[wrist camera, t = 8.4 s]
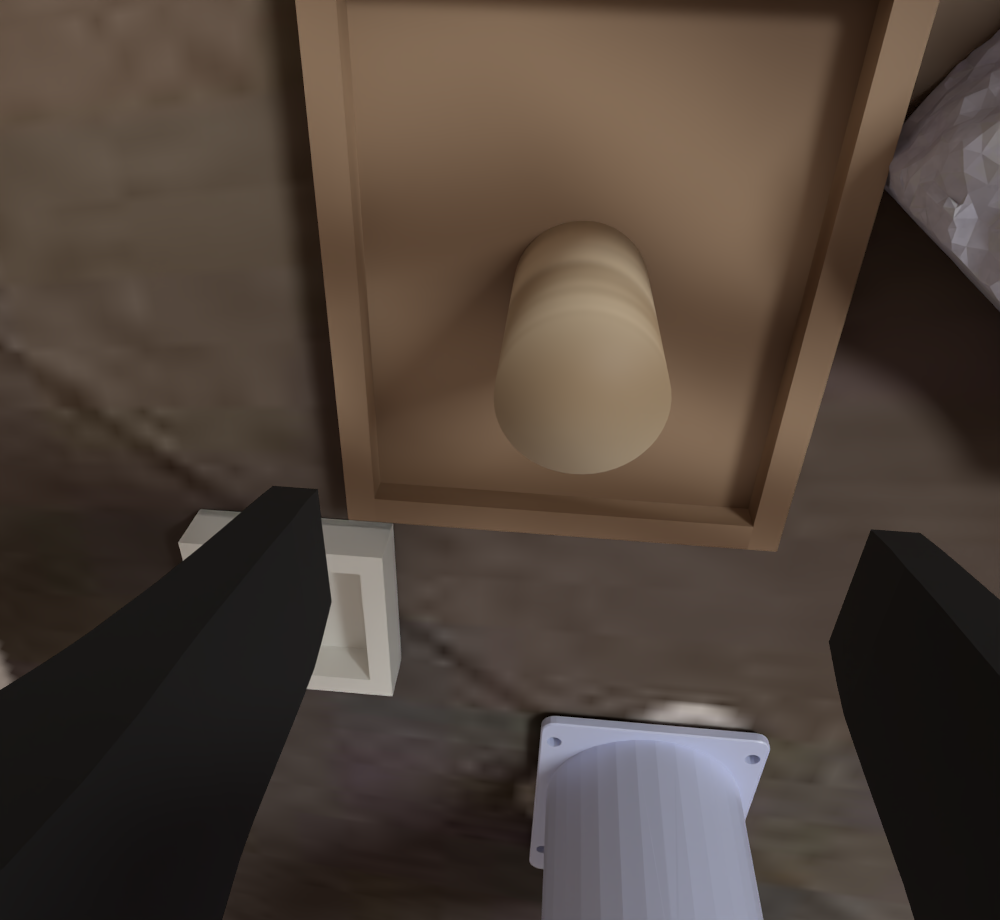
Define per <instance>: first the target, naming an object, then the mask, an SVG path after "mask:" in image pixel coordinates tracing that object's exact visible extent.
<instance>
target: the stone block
mask: <svg viewBox="0 0 1000 920" xmlns="http://www.w3.org/2000/svg"><path fill="white" fill-rule="evenodd" d="M884 189H885V190H886V191H887V192H888V193H889V194H890V195H891V196H892V197H893V198H894V200H895V201H896V202H897V203H898V204H899V205H900V206H901V207H902V208H903V209H904V211H905V212H906V213H907V214H908V215H909V216H910V217H911V218H912V219H913V220H914V221H915V222H916V224H917V225H918V226H919V227H920V228H921V229H922V230H923V231H924V232H925V233H926V234H927V235H928V236H929V237H930V238H931V239H932V240H933V241H934V242H935V243H936V244H937V245H938V246H939V247H940V248H941V249H942V251H943V252H944V253H945V254H946V255H947V256H948V257H949V258H950V259H951V260H952V261H953V262H954V263H955V264H956V265H957V267H958V268H959V269H960V270H961V271H962V272H963V273H964V275H965V276H966V277H967V278H968V279H969V280H970V281H971V282H972V283H973V284H974V285H975V286H976V287H977V288H978V289H979V290H980V291H981V292H982V293H983V294H984V296H985V297H986V298H987V299H988V300H989V301H990V302H991V303H992V304H993V305H994V306H995V307H996V308H997V309H998V310H999V311H1000V29H999V30H998V31H997V33H996V34H995V35H994V36H993V37H992V38H991V39H990V40H988V41H987V42H985V43H984V44H982V45H981V46H980V47H978V48H977V49H975V50H974V51H972V52H971V53H970V55H969V56H968V57H967V58H966V59H965V60H963V61H962V62H960V63H959V64H958V65H957V66H956V67H955V68H954V69H953V70H952V71H951V72H950V73H949V74H948V76H947V77H946V78H945V79H944V80H943V81H942V82H941V83H940V84H939V85H938V86H937V87H936V88H935V89H934V90H933V91H932V92H931V93H930V94H929V95H928V97H927V98H926V99H925V100H924V101H923V102H922V103H921V104H920V105H919V106H918V108H917V109H916V110H915V111H914V112H913V113H912V114H911V116H910V117H909V118H908V119H907V120H906V121H905V123H904V124H903V126H902V129H901V133H900V136H899V140H898V143H897V146H896V150H895V153H894V156H893V160H892V162H891V163H890V165H889V173H888V177H887V180H886V184H885V187H884Z"/></svg>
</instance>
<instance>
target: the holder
mask: <svg viewBox="0 0 1000 920" xmlns="http://www.w3.org/2000/svg"><path fill="white" fill-rule="evenodd" d="M240 513H241V512H233V511H220V510H206V509H200V510H199V511H198V513H197V514H196V516H195V518H194V519H193V521H192V522H191V524H190V525H189V527H188V528H187V530H186V531H185V533H184V534H183V536H182V537H181V539H180V540H179V542H178V544H179V548H180V552H181V555H182V559H183V560H185V559H186V558H187V557H188V556H190V555H191V554H192V553H193V552H195V551H196V550H197V549H198V548H199V547H201V546H202V545H203V544H204V543H205V542H206V541H208V540H209V539H210V538H211V537H212V536H214V535H215V534H216V533H217V532H218V531H220V530H221V529H222V528H223V527H224V526H225V525H227V524H228V523H229V522H230V521H231V520H233V519H234V518H235V517H236V516H237V515H238V514H240ZM321 520H322V528H323V536H324V544H325V552H326V560H327V568H328V576H329V584H330V592H331V599H332V603H331V607H330V611H329V615H328V619H327V623H326V627H325V631H324V635H323V639H322V643H321V646H320V650H319V654H318V657H317V661H316V665H315V668H314V671H313V674H312V676H311V679H310V682H309V684H308V687H307V689H315V690H326V691H338V692H349V693H361V694H372V695H384V696H393V692H394V688H395V684H396V679H397V675H398V671H399V667H400V663H401V643H400V627H399V611H398V595H397V579H396V562H395V546H394V530H393V523H381V522H367V521H354V520H341V519H327V518H321Z"/></svg>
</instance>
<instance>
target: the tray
mask: <svg viewBox="0 0 1000 920" xmlns="http://www.w3.org/2000/svg"><path fill="white" fill-rule="evenodd" d="M939 1H940V0H295V3H296V13H297V23H298V33H299V42H300V52H301V62H302V72H303V82H304V91H305V101H306V111H307V121H308V130H309V140H310V150H311V160H312V169H313V179H314V189H315V199H316V208H317V218H318V228H319V238H320V248H321V257H322V267H323V277H324V287H325V296H326V306H327V316H328V326H329V335H330V345H331V355H332V365H333V375H334V384H335V394H336V404H337V414H338V423H339V433H340V443H341V453H342V462H343V472H344V482H345V492H346V502H347V511H348V520H360V521H373V522H387V523H400V524H413V525H427V526H440V527H454V528H467V529H481V530H494V531H507V532H521V533H534V534H548V535H561V536H575V537H588V538H601V539H615V540H628V541H642V542H655V543H669V544H682V545H695V546H709V547H722V548H736V549H749V550H763V551H776V552H777V549H778V546H779V542H780V539H781V535H782V532H783V529H784V525H785V522H786V519H787V515H788V512H789V508H790V505H791V502H792V498H793V495H794V491H795V488H796V485H797V481H798V478H799V475H800V471H801V468H802V464H803V461H804V458H805V454H806V451H807V447H808V444H809V441H810V437H811V434H812V431H813V427H814V424H815V420H816V417H817V414H818V410H819V407H820V403H821V400H822V397H823V393H824V390H825V387H826V383H827V380H828V376H829V373H830V370H831V366H832V363H833V359H834V356H835V353H836V349H837V346H838V343H839V339H840V336H841V332H842V329H843V326H844V322H845V319H846V315H847V312H848V309H849V305H850V302H851V299H852V295H853V292H854V288H855V285H856V282H857V278H858V275H859V272H860V268H861V265H862V261H863V258H864V255H865V251H866V248H867V244H868V241H869V238H870V234H871V231H872V228H873V224H874V221H875V217H876V214H877V211H878V207H879V204H880V200H881V197H882V194H883V190H884V187H885V184H886V180H887V177H888V173H889V165H890V163H891V162H892V160H893V156H894V153H895V150H896V146H897V143H898V140H899V136H900V133H901V129H902V126H903V123H904V119H905V116H906V112H907V109H908V106H909V102H910V99H911V96H912V92H913V89H914V85H915V82H916V79H917V75H918V72H919V68H920V65H921V62H922V58H923V55H924V52H925V48H926V45H927V41H928V38H929V35H930V31H931V28H932V25H933V21H934V18H935V14H936V11H937V8H938V4H939ZM571 221H594V222H599V223H603V224H606V225H609V226H611V227H613V228H615V229H617V230H618V231H620V232H622V233H623V234H624V235H626V236H627V237H628V238H629V239H630V240H631V241H632V242H633V243H634V244H635V245H636V247H637V248H638V250H639V251H640V253H641V255H642V257H643V259H644V261H645V264H646V267H647V272H648V277H649V282H650V287H651V291H652V296H653V301H654V306H655V311H656V316H657V321H658V326H659V331H660V335H661V340H662V345H663V350H664V355H665V360H666V365H667V370H668V375H669V379H670V385H671V407H670V412H669V416H668V419H667V422H666V424H665V426H664V428H663V430H662V432H661V433H660V435H659V436H658V438H657V439H656V440H655V442H654V443H653V444H652V445H651V446H650V447H649V448H648V449H647V450H646V451H645V452H644V453H643V454H641V455H640V456H638V457H637V458H636V459H634V460H632V461H631V462H629V463H627V464H625V465H623V466H620V467H618V468H615V469H612V470H609V471H605V472H600V473H594V474H569V473H562V472H558V471H554V470H551V469H548V468H545V467H543V466H540V465H538V464H536V463H535V462H533V461H531V460H529V459H528V458H526V457H525V456H524V455H522V454H521V453H520V452H519V451H518V450H517V449H515V448H514V446H513V445H512V444H511V443H510V442H509V441H508V439H507V438H506V436H505V435H504V433H503V432H502V430H501V428H500V425H499V423H498V420H497V417H496V414H495V408H494V387H495V381H496V376H497V370H498V364H499V359H500V353H501V348H502V342H503V337H504V331H505V326H506V320H507V315H508V309H509V304H510V298H511V293H512V287H513V282H514V276H515V272H516V268H517V265H518V263H519V260H520V258H521V256H522V254H523V253H524V251H525V250H526V248H527V247H528V246H529V245H530V243H531V242H532V241H533V240H535V239H536V238H537V237H538V236H539V235H541V234H542V233H543V232H545V231H547V230H548V229H550V228H552V227H554V226H557V225H559V224H563V223H567V222H571Z"/></svg>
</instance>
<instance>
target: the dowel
mask: <svg viewBox="0 0 1000 920" xmlns="http://www.w3.org/2000/svg"><path fill="white" fill-rule="evenodd" d="M670 407H671V385H670V379H669V375H668V370H667V365H666V360H665V355H664V350H663V345H662V340H661V335H660V331H659V326H658V321H657V316H656V311H655V306H654V301H653V296H652V291H651V287H650V282H649V277H648V272H647V267H646V264H645V261H644V259H643V257H642V255H641V253H640V251H639V250H638V248H637V247H636V245H635V244H634V243H633V242H632V241H631V240H630V239H629V238H628V237H627V236H626V235H624V234H623V233H622V232H620V231H618V230H617V229H615V228H613V227H611V226H609V225H606V224H603V223H599V222H594V221H571V222H567V223H563V224H559V225H557V226H554V227H552V228H550V229H548V230H547V231H545V232H543V233H542V234H541V235H539V236H538V237H537V238H536V239H535V240H533V241H532V242H531V243H530V245H529V246H528V247H527V248H526V250H525V251H524V253H523V254H522V256H521V258H520V260H519V263H518V265H517V268H516V272H515V276H514V282H513V287H512V293H511V298H510V304H509V309H508V315H507V320H506V326H505V331H504V337H503V342H502V348H501V353H500V359H499V364H498V370H497V376H496V381H495V387H494V408H495V414H496V417H497V420H498V423H499V425H500V428H501V430H502V432H503V433H504V435H505V436H506V438H507V439H508V441H509V442H510V443H511V444H512V445H513V446H514V448H515V449H517V450H518V451H519V452H520V453H521V454H522V455H524V456H525V457H526V458H528V459H529V460H531V461H533V462H535V463H536V464H538V465H540V466H543V467H545V468H548V469H551V470H554V471H558V472H562V473H569V474H594V473H600V472H605V471H609V470H612V469H615V468H618V467H620V466H623V465H625V464H627V463H629V462H631V461H632V460H634V459H636V458H637V457H638V456H640V455H641V454H643V453H644V452H645V451H646V450H647V449H648V448H649V447H650V446H651V445H652V444H653V443H654V442H655V440H656V439H657V438H658V436H659V435H660V433H661V432H662V430H663V428H664V426H665V424H666V422H667V419H668V416H669V412H670Z"/></svg>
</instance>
